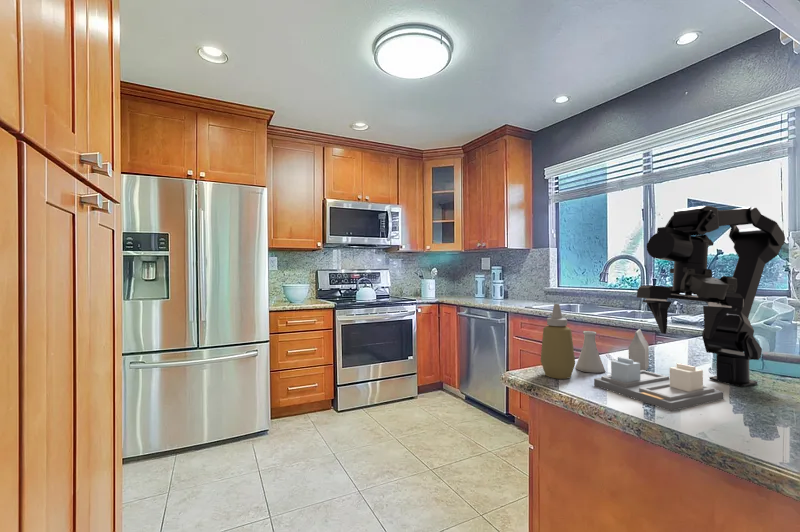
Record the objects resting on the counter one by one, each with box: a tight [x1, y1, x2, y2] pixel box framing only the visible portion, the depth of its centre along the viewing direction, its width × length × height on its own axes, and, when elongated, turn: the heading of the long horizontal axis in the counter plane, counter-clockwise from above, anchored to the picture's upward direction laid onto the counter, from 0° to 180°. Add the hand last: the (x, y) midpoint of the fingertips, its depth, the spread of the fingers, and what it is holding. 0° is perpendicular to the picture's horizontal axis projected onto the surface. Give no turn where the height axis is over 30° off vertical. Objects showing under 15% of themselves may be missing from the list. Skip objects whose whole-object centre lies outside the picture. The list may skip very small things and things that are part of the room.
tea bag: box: [628, 328, 650, 371], centre depth 101 cm, size 4×7×10 cm, turn 140°
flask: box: [575, 330, 606, 374], centre depth 99 cm, size 7×7×10 cm
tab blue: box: [610, 356, 641, 383], centre depth 85 cm, size 4×4×5 cm
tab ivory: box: [669, 362, 704, 392], centre depth 78 cm, size 4×4×5 cm
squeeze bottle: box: [540, 303, 576, 380], centre depth 94 cm, size 8×8×18 cm
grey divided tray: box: [593, 370, 725, 412], centre depth 82 cm, size 16×17×2 cm
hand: (685, 336), depth 82 cm, fingers open, 9 cm apart
